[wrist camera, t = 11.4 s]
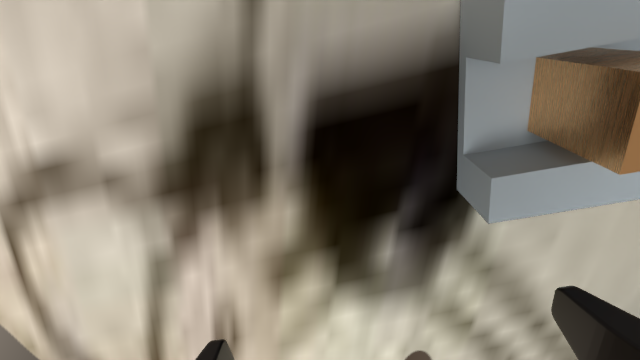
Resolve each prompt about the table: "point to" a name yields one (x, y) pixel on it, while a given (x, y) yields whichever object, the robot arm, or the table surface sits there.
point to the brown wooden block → (590, 105)
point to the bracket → (514, 106)
